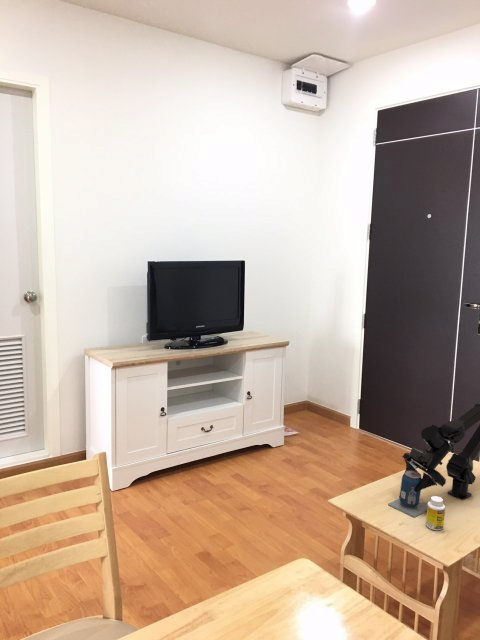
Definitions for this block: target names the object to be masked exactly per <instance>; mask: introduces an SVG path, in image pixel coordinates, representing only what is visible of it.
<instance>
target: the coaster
mask: <svg viewBox="0 0 480 640" xmlns="http://www.w3.org/2000/svg"><path fill="white" fill-rule="evenodd" d="M387 505H388V507H391V508H393V509H396V510H397V511H399V512H401V513H403V514H405V515H406V516H407V515H408V516H409V517H411V518H413V519H416V518H417V517H419V516H420V515H423V514H425V513H427V507H428V504H426V503H424V502H422V501H420V500H419V504H418V505H417V506H416V507H414V508H408V507H405V506H403V505H402V504H401V502H400V500H399V498H397V499H394V500H393V501H391V502H389V503H387Z"/></svg>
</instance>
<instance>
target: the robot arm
mask: <svg viewBox="0 0 480 640" xmlns="http://www.w3.org/2000/svg"><path fill="white" fill-rule="evenodd" d="M478 422H480V402H477V403H475V404H474V405H473V407H472V408H471V409H469V410H468V411H466V412H465V413H464V414H463V415H461V416H460V417H458V418H457V419H455V420H454V419H453V420H449V421H446V422H445V423H443V424H442V425H441V426H438V425H436V424H433V423H432V424H431V425H430V426H426V427H425V428H423V429H422V431H421V433H420V435H421V438H422V439H423V441H424V442H425V443H426V445H428V447H429V449H426V448H425V449H424V450H423V451H422V450H420V449H417V448H415V447H411V449H410V452H405V453H403V455H402V456H401V457H402V458H403V460H404V463H405V471H406V470H414V471H417V472H419V471H418V470H417V469H419V470H420V471H422V473H423V474H422V477H421V478H422V479H421V481H420V482H419V483H418V484H417V486H416V487H415V489H414V491H415V492H417V491H420V490H421V491H422V490H424V489H426V488H429V487H433V486H436V487H437V486H438V485H439V486H440V487H444V486H445V485H446V483H447V479H446V478H445V477H444V475H443V474H442V473H440V471H438V470H436V468H437V467H438V466H439V465H440V466H442V465H443V464H444V463H443V462H442V461H443V459H445V457H446V456H447V455H448V454H449V453H452V455H451V457H450V458H449V460H448V462H447V464H446V466H445V467H446V473H447V476H448V477H449V478H451V479H452V483H451V490H448V491H447V494H448V495H450V496H454V497H456V498H458V499H460V500H466V499H467V498H469V497H471V496H472V493H471V492H469V485H471V486H472V485H474V484H473V483H475V481H476V476H475V474H474V473H473V470H474V460H475V458H476V457H477V455H478V454H479V452H480V423H479V425H478V426H477V428H476V429H475V430H474V432H473V434H472V435H471V437H469V439H468V441H467V443H466V444H465V445H464V447H463V448H462V450H461V452H460V453H456V452H455V451H454V444H458V443H459V442H460V441H462V440H463V438H464V437H465V436H466V435H465V434H466V431H468V430H469V429H470V428H471V427H473V426H474V425H475V424H477V423H478ZM450 442H451V443H450ZM452 443H453V444H452ZM405 471H404V472H405Z"/></svg>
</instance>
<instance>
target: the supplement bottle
mask: <svg viewBox="0 0 480 640" xmlns="http://www.w3.org/2000/svg"><path fill="white" fill-rule="evenodd" d="M427 505H428V507H427V511H426V521H425V525H426V527H427V528H428V529H430V530H433V531H441V530H442V529H444V524H445V523H444V521H445V514H446V512H445V511H446V505H445V504H444V499H443V498H442V497H441V496H437V495H434V496H433V495H432V496H431V497H430V501H428V502H427Z"/></svg>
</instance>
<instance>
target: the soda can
mask: <svg viewBox="0 0 480 640" xmlns="http://www.w3.org/2000/svg"><path fill="white" fill-rule="evenodd" d="M405 470H406V469H405ZM417 471H418V470H417ZM417 471H414V470H406V471H404V473H403V474H402V477H401V483H400V489H399V497H398V499H399V500H400V502H401V504H402V505H403V506H405V507H408V508H414V507H416V506H417V505H418V504H419V501H420V498H421V491H422V490H420V491H417V492H415V491H414V489H415V487H416V486H417V484H418V483H419V482H420V481H421V479H422V478H423V477H422V474H421V473H420V472H419V471H418V472H417Z"/></svg>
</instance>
